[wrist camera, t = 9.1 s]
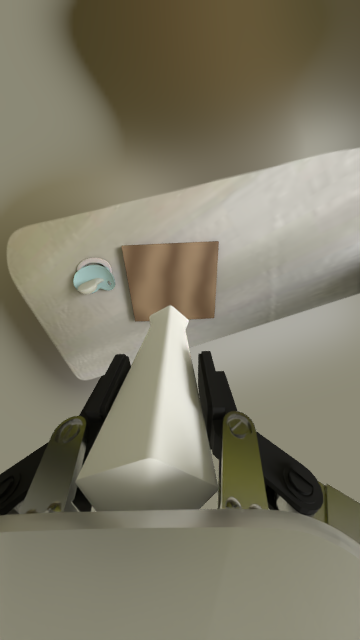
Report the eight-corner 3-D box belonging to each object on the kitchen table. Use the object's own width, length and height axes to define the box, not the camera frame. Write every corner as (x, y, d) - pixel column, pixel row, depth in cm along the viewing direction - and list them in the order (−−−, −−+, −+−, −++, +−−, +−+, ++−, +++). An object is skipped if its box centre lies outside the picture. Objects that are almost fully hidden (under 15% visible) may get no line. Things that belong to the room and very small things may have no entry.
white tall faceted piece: (161, 350, 18) (109, 682, 5) (138, 318, 16) (-57, 704, 3) (199, 332, 17) (275, 690, 4) (179, 296, 15) (177, 733, 2)
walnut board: (216, 241, 28) (218, 241, 27) (212, 315, 35) (214, 318, 33) (124, 245, 29) (121, 245, 27) (136, 318, 35) (135, 321, 33)
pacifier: (72, 261, 30) (85, 293, 32) (47, 265, 24) (65, 303, 27) (110, 253, 29) (121, 286, 32) (94, 256, 24) (109, 296, 26)
